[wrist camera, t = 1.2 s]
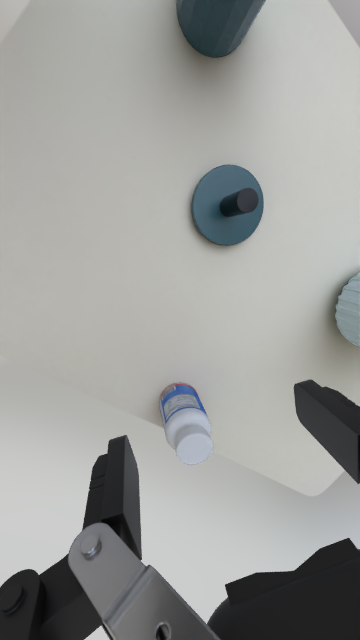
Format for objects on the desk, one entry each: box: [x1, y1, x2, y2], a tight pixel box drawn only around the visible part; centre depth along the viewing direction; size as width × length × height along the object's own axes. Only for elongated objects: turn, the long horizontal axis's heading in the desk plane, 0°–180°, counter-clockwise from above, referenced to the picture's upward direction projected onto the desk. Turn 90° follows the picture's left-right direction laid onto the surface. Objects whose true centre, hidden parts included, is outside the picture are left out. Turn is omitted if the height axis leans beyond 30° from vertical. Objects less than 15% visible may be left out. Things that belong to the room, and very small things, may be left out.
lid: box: [192, 165, 263, 245], centre depth 28 cm, size 8×8×6 cm
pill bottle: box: [159, 383, 213, 465], centre depth 33 cm, size 6×5×10 cm
